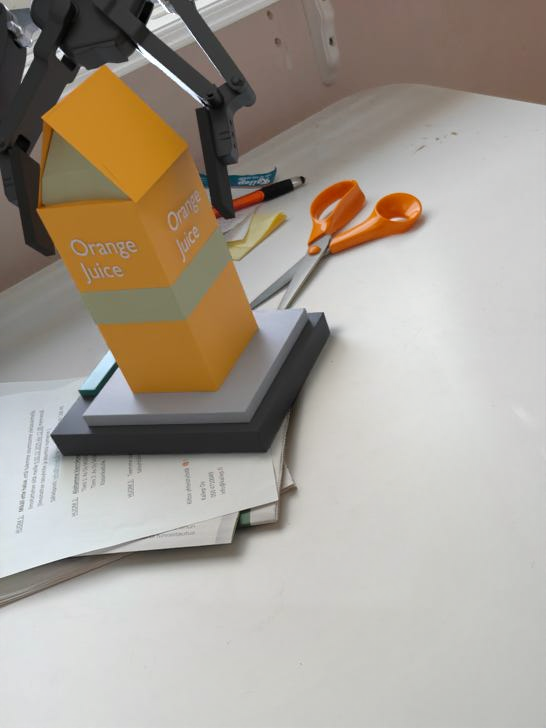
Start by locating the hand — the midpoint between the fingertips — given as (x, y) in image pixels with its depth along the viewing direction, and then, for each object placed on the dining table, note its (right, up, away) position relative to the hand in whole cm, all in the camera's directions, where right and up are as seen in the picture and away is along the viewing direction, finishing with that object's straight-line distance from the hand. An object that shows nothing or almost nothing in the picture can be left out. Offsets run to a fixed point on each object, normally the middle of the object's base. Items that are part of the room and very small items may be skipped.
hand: (131, 231), depth 67 cm
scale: (+2, -8, +11) cm, 14 cm away
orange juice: (+2, -7, +9) cm, 11 cm away
